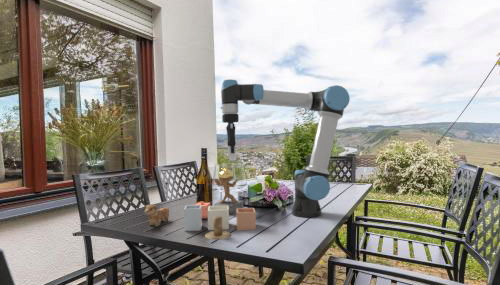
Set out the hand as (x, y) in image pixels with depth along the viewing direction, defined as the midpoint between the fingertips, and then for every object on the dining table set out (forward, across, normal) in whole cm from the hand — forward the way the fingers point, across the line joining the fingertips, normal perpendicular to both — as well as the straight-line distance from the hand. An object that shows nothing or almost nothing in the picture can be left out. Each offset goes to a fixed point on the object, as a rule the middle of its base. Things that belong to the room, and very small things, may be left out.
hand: (231, 159), depth 140 cm
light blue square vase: (+29, +6, -18) cm, 35 cm away
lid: (+30, +17, -8) cm, 35 cm away
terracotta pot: (+30, +8, +5) cm, 31 cm away
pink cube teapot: (+30, -13, -15) cm, 36 cm away
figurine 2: (+30, -20, -1) cm, 36 cm away
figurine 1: (+29, -6, -36) cm, 47 cm away
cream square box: (+30, +6, -7) cm, 31 cm away
